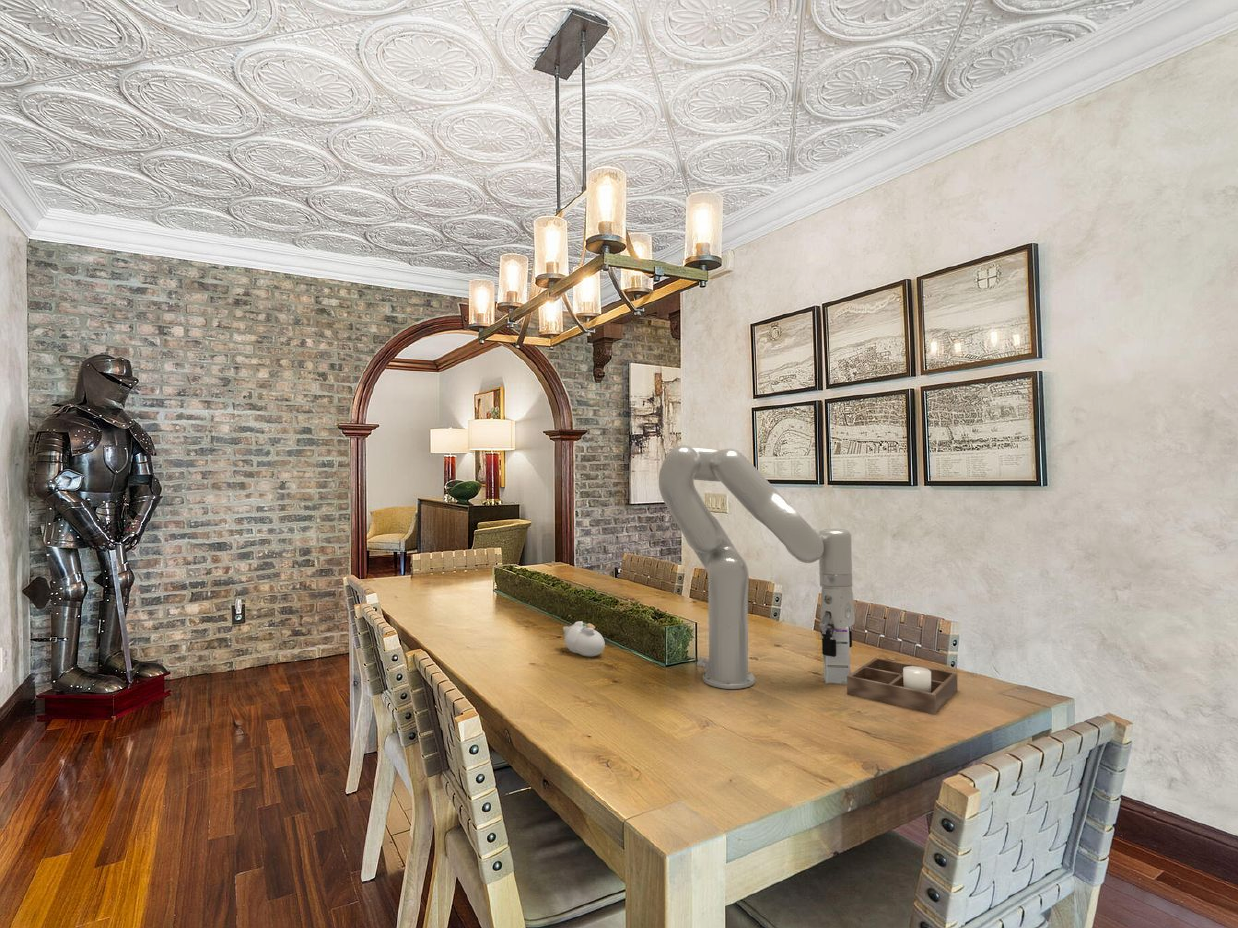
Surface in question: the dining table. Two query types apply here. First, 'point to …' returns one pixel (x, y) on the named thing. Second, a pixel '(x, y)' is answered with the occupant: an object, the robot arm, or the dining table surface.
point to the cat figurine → (583, 639)
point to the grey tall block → (838, 659)
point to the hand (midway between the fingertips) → (837, 650)
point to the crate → (901, 686)
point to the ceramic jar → (917, 678)
